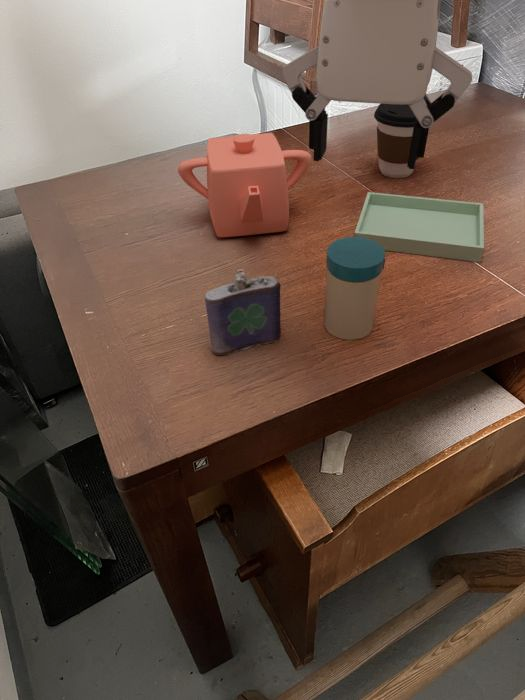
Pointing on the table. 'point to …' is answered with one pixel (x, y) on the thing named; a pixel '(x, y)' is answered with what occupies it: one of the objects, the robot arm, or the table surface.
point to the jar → (350, 306)
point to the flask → (243, 313)
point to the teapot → (246, 183)
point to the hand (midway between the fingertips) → (364, 159)
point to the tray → (423, 226)
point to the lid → (355, 259)
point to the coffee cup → (394, 138)
